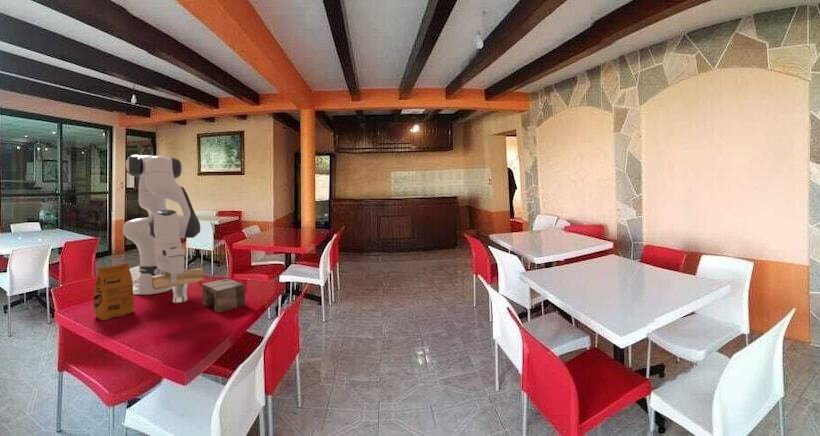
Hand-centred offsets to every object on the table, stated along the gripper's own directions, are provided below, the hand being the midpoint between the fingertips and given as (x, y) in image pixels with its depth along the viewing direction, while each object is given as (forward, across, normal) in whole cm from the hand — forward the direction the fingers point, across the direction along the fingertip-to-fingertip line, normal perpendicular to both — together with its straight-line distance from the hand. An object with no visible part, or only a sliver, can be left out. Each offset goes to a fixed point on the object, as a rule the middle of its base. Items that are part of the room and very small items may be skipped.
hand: (170, 281), depth 143 cm
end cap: (+16, 0, +21) cm, 27 cm away
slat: (+2, 0, +3) cm, 4 cm away
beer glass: (+16, -21, +10) cm, 28 cm away
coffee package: (+16, -23, -14) cm, 31 cm away
